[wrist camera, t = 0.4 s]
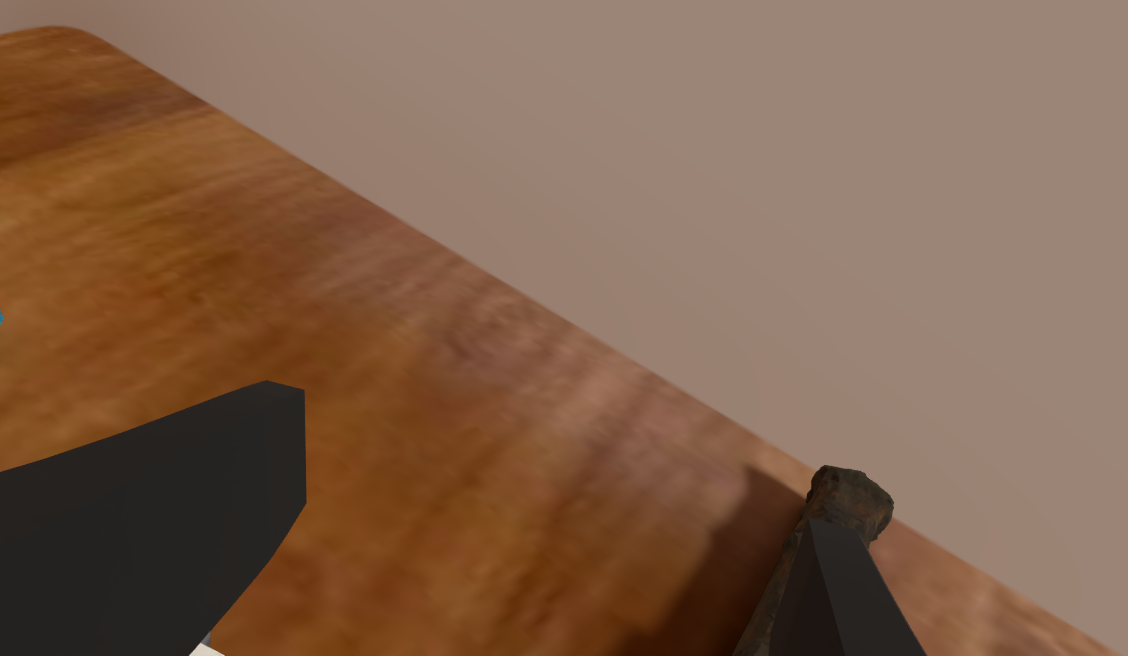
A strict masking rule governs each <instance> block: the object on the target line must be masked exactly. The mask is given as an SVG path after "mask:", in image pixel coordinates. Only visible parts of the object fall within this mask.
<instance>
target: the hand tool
mask: <svg viewBox="0 0 1128 656" xmlns="http://www.w3.org/2000/svg"><path fill="white" fill-rule="evenodd" d="M806 503H807V504H806V505H805V506H804V507H803V508H802V510H801V512H800V516H801V519H800V521H799V523H798V525H797V526H796V527H795V529H794V531H793V532H792V533H791V535H790V536H789V537H788V538H787V539H786V540H785V543H784V546H783V552H782V558H781V560H780V562H779V564H778V565H777V567H776V569H775V570H774V572H773V573H772V575H771V578H770V580H769V583H768V585H767V587H766V589H765V591H764V593H763V595H762V597H761V599H760V601H759V603H758V605H757V607H756V609H755V611H754V613H753V615H752V617H751V619H750V621H749V624H748V626H747V627H746V629H745V630H744V632H743V634H742V636H741V638H740V640H739V642H738V644H737V646H736V648H735V650H734V652H733V654H732V656H768V655H769V645H770V635H771V630H772V627H773V623H774V620H775V617H776V614H777V611H778V608H779V605H780V602H781V599H782V596H783V593H784V590H785V587H786V584H787V581H788V577H789V574H790V571H791V568H792V565H793V562H794V559H795V556H796V553H797V550H798V547H799V544H800V541H801V538H802V534H803V531H804V528H805V525H806V522H807V519H808V517H809V518H813V519H817V520H821V521H825V522H829V523H833V524H837V525H841V526H845V527H849V528H853V529H856V530H857V532H858V533H859V535H860V536H861V538H862V540H863V542H864V544H865V545H866V547H867V549H869V545H870V542H871V541H874V540H876V539H877V537H878V535H879V534H880V533H881V532H882V531H883V530H884V529H885V528H886V526H887V525H888V524H889V522H890V521H891V518H892V511H893V509H894V506H893V504H894V502H893V500H892V498H891V496H890V495H889V494H888V493H887V492H885V491H884V490H883V489H882V488H880V486H879V485H878V484H877V483H875V482H873V481H872V480H870V479H869V478H867V476H866V474H865V473H863V472H861V471H857V470H852V469H843V468H839V467H834V466H828V465H824V466H822V467H821V468H820V469H819V470H818V471H817V472H816V473H815V475H814V476H813V478H812V480H811V490H810V491H809V492H808V493H807V498H806Z"/></svg>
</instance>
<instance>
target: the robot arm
mask: <svg viewBox="0 0 1128 656" xmlns="http://www.w3.org/2000/svg"><path fill="white" fill-rule="evenodd" d="M305 504H306V449H305V394H304V390H303V389H299V388H295V387H291V386H287V385H283V384H279V383H275V382H271V381H267V380H266V381H263V382H259V383H256V384H253V385H249V386H246V387H243V388H240V389H238V390H235V391H232V392H229V393H226V394H224V395H221V396H218V397H216V398H213V399H210V400H208V401H205V402H202V403H200V404H197V405H194V406H192V407H189V408H186V409H184V410H181V411H178V412H176V413H173V414H170V415H168V416H165V417H162V418H160V419H157V420H154V421H152V422H149V423H146V424H144V425H141V426H138V427H136V428H133V429H130V430H128V431H125V432H122V433H119V434H117V435H114V436H111V437H108V438H105V439H102V440H99V441H96V442H93V443H90V444H87V445H84V446H81V447H78V448H75V449H72V450H69V451H66V452H63V453H60V454H57V455H54V456H51V457H49V458H46V459H42V460H39V461H36V462H33V463H29V464H26V465H23V466H19V467H16V468H12V469H9V470H5V471H2V472H0V656H190V654H191V653H192V652H193V651H194V650H195V649H196V647H197V646H198V645H199V644H200V643H201V641H202V640H203V639H204V638H205V637H206V636H207V634H208V633H209V632H210V631H211V630H212V629H213V627H214V626H215V625H216V624H217V623H218V622H219V620H220V619H221V618H222V617H223V616H224V615H225V613H226V612H227V611H228V610H229V609H230V608H231V606H232V605H233V604H234V603H235V602H236V600H237V599H238V598H239V597H240V596H241V595H242V593H243V592H244V591H245V590H246V589H247V587H248V586H249V585H250V584H251V583H252V581H253V580H254V579H255V578H256V577H257V575H258V574H259V573H260V572H261V571H262V569H263V568H264V567H265V566H266V564H267V563H268V562H269V561H270V559H271V558H272V556H273V555H274V553H275V552H276V550H277V549H278V547H279V546H280V544H281V543H282V541H283V540H284V538H285V537H286V535H287V534H288V532H289V530H290V529H291V527H292V526H293V524H294V522H295V521H296V519H297V517H298V516H299V514H300V513H301V511H302V509H303V508H304V506H305ZM768 656H927V654H926V653H925V651H924V649H923V648H922V646H921V645H920V643H919V641H918V640H917V638H916V636H915V635H914V633H913V631H912V630H911V628H910V626H909V624H908V623H907V621H906V619H905V617H904V616H903V614H902V612H901V610H900V609H899V607H898V605H897V603H896V601H895V600H894V598H893V596H892V594H891V592H890V591H889V589H888V587H887V585H886V583H885V581H884V579H883V578H882V576H881V574H880V572H879V570H878V568H877V566H876V564H875V563H874V561H873V559H872V557H871V555H870V553H869V551H868V549H867V547H866V545H865V544H864V542H863V540H862V538H861V536H860V535H859V533H858V532H857V530H856V529H853V528H849V527H845V526H841V525H837V524H833V523H829V522H825V521H821V520H817V519H813V518H809V517H808V519H807V522H806V525H805V528H804V531H803V534H802V538H801V541H800V544H799V547H798V550H797V553H796V556H795V559H794V562H793V565H792V568H791V571H790V574H789V577H788V581H787V584H786V587H785V590H784V593H783V596H782V599H781V602H780V605H779V608H778V611H777V614H776V617H775V620H774V623H773V627H772V630H771V635H770V645H769V655H768Z"/></svg>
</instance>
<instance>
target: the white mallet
mask: <svg viewBox="0 0 1128 656" xmlns="http://www.w3.org/2000/svg"><path fill="white" fill-rule="evenodd" d="M190 656H224V655H222V654H220V653H219V652H217V651H215V650H213V649H211V648H209V647H207V646H205V645H203V644H201V643H200V644H199V645H198V646H197V647H196V649H195V650H194V651H193V652H192V653H191V654H190Z"/></svg>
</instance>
